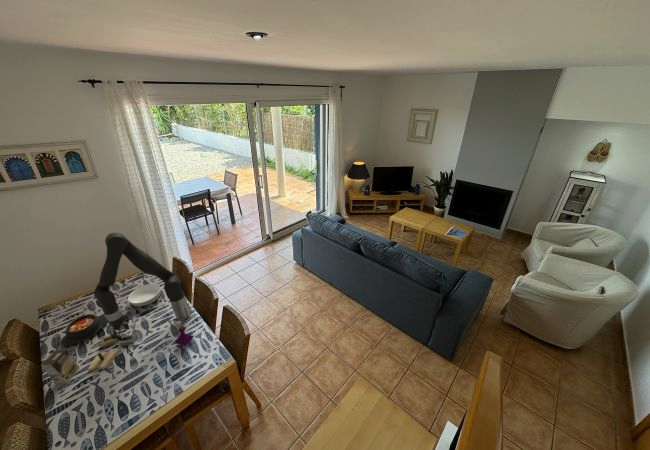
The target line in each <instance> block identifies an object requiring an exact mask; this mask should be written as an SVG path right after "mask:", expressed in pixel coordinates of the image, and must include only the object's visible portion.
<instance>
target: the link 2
mask: <svg viewBox="0 0 650 450" xmlns="http://www.w3.org/2000/svg"><path fill="white" fill-rule="evenodd" d="M121 337H122V341H119V342H117V344H118V347H123V346H126V347H127V346H130V345H132V346H133V345H134V344H135V342H136V341H137V340H138V335H137V334H136V333H134V334H125V335H121Z"/></svg>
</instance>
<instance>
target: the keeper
mask: <svg viewBox="0 0 650 450" xmlns="http://www.w3.org/2000/svg"><path fill="white" fill-rule="evenodd" d="M117 355H118V351H117V350H112V351H105V352H98V353H97V355H96V356H95V358H94V359H93V361H92V362H91V363H90V365H89V367H88V368H87V370H88V371H95V370H102V369H109V367H111V364H112V363H113V361H114V360H115V357H116V356H117Z"/></svg>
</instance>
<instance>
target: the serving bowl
mask: <svg viewBox="0 0 650 450" xmlns="http://www.w3.org/2000/svg"><path fill="white" fill-rule="evenodd" d="M161 292H162V288H161V286H160V285H159V284H157V283H149V284H144V285H142V286H139V287H138V288H136V289H134V290H133V291H131V293H130V294H129V296H128V297H127V301H128V302H129V304H131V305H132V306H135V307H144V306H148V305H150V304H152V303H154V302H155V301H156V300H157V299H158V298H159V297H160V295H161Z"/></svg>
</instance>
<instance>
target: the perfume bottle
mask: <svg viewBox="0 0 650 450" xmlns="http://www.w3.org/2000/svg"><path fill="white" fill-rule="evenodd" d="M174 325H175V326H178V330H177V331H178V332H179V336H178V337H177V338H176V341H175V342H174V343H176V344H178V345H179V346H183V347H187V346H188V344H190V343H191V341H192V339H193V337H194V335H191V334H190V333H186V332H185V331H186V329H187V327H186V326H184V325H182V322H181V320H177V321H176V322H175V323H174Z"/></svg>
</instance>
